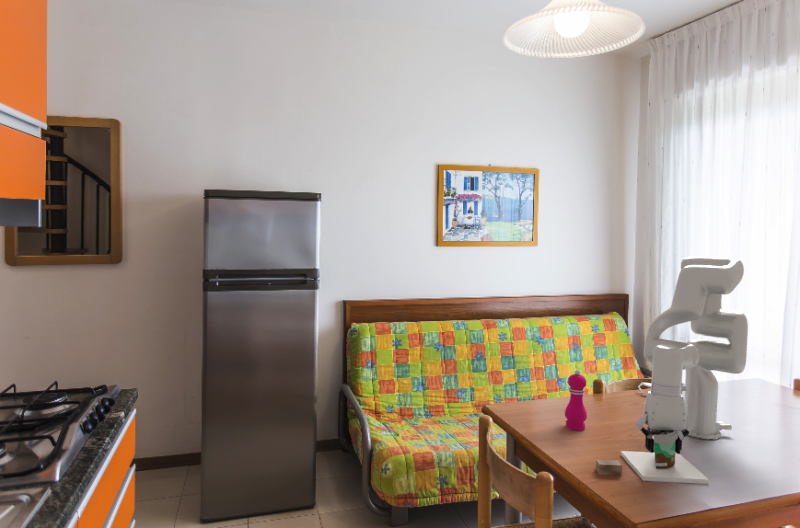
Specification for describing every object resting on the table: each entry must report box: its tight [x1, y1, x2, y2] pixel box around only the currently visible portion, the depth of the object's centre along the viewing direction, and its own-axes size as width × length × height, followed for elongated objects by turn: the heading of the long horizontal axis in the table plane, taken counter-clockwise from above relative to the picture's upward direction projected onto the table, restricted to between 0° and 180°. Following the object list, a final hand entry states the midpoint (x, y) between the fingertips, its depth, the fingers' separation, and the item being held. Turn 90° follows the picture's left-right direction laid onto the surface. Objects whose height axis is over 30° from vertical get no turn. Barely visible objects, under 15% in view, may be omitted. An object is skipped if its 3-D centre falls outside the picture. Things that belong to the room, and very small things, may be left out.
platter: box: [620, 450, 710, 485], centre depth 142 cm, size 17×16×1 cm
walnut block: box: [595, 459, 623, 477], centre depth 139 cm, size 6×3×3 cm, turn 86°
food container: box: [654, 430, 678, 469], centre depth 142 cm, size 12×6×10 cm, turn 155°
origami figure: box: [637, 382, 651, 394], centre depth 209 cm, size 12×8×5 cm
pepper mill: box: [564, 369, 588, 432], centre depth 171 cm, size 7×7×20 cm
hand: (663, 450), depth 142 cm, fingers open, 6 cm apart
